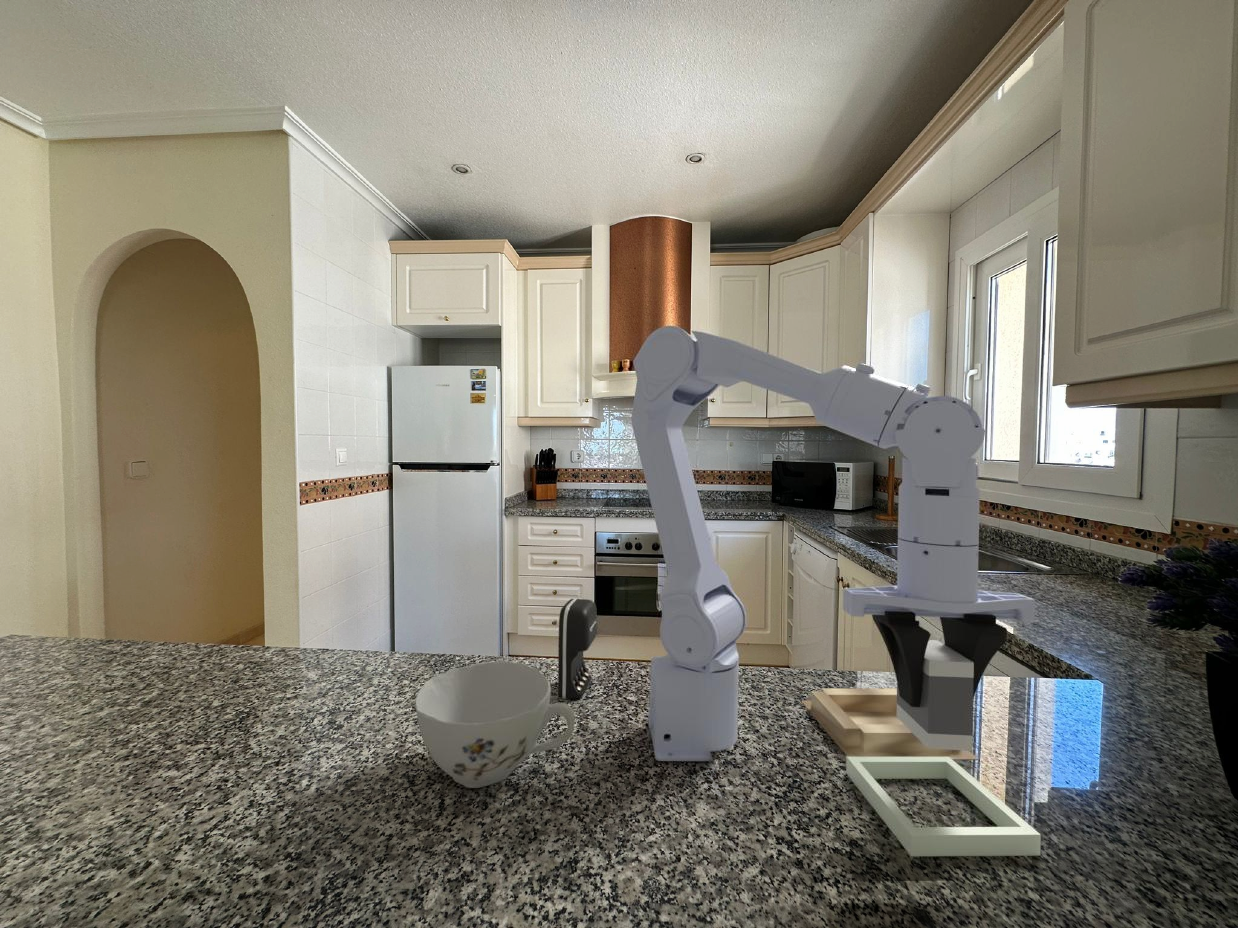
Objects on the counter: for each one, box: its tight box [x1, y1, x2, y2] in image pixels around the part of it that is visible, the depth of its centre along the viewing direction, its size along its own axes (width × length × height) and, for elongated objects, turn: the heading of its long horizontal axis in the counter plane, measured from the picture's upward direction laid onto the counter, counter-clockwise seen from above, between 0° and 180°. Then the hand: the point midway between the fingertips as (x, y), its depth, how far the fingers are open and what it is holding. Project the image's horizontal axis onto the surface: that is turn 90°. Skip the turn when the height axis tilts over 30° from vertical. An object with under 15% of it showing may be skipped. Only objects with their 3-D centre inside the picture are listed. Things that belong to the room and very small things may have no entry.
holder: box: [801, 687, 980, 761], centre depth 55 cm, size 13×12×3 cm
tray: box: [845, 756, 1042, 857], centre depth 42 cm, size 10×10×2 cm
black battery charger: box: [557, 597, 598, 700], centre depth 65 cm, size 7×4×11 cm, turn 171°
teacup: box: [414, 661, 575, 789], centre depth 47 cm, size 15×12×8 cm
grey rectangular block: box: [896, 639, 974, 752], centre depth 42 cm, size 3×5×7 cm
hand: (934, 702), depth 42 cm, fingers closed on grey rectangular block, 3 cm apart
